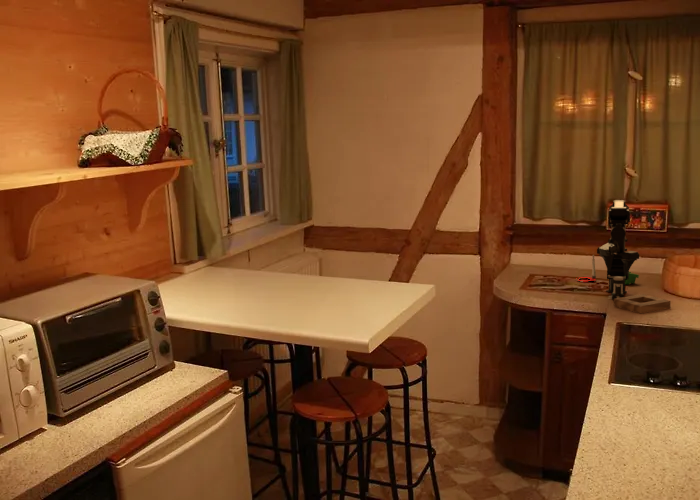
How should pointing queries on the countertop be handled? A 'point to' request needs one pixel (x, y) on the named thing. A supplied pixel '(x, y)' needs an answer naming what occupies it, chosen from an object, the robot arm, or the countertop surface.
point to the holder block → (642, 303)
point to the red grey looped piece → (592, 273)
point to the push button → (617, 287)
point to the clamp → (631, 278)
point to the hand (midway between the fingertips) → (617, 272)
